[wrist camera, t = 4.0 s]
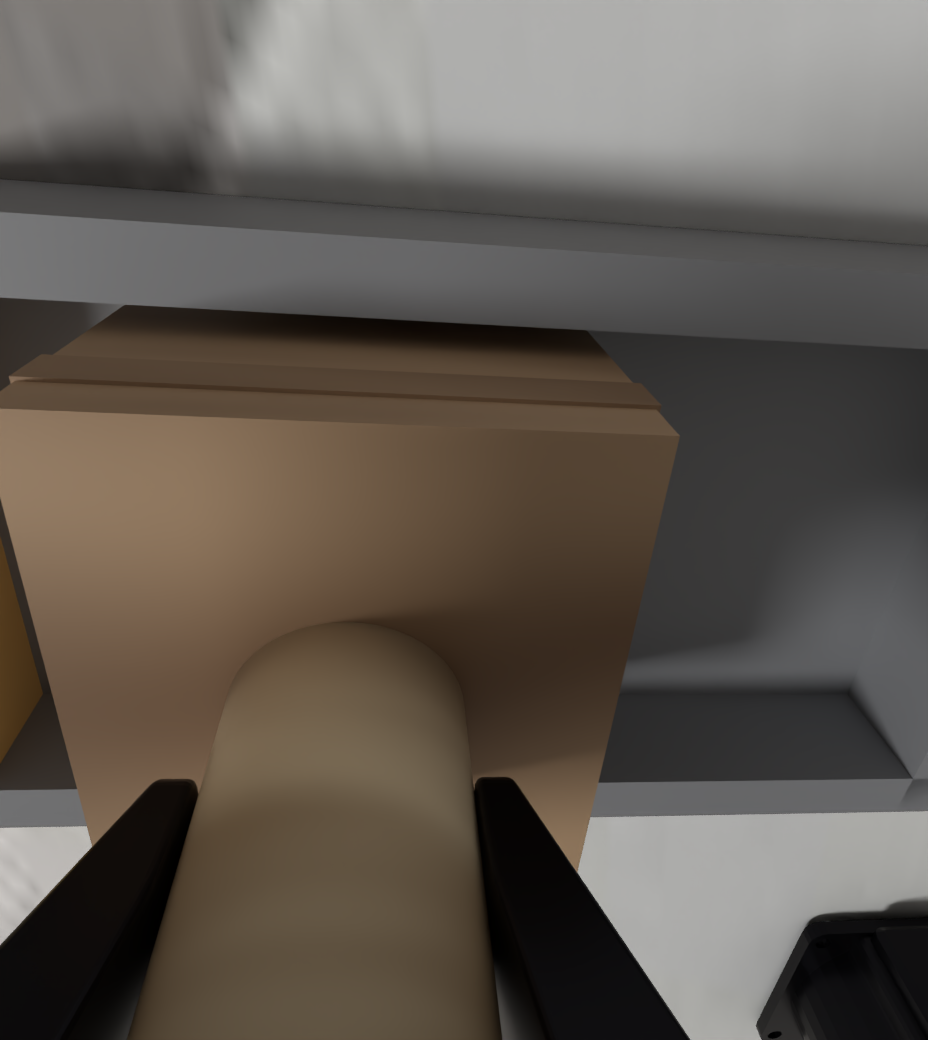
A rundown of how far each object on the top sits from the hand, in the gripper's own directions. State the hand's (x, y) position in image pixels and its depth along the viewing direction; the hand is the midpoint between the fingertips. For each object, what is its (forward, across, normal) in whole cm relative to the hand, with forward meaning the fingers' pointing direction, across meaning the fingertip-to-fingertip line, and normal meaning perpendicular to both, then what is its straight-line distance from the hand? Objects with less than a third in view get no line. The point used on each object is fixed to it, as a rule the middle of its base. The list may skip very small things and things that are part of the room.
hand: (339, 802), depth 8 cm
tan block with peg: (+6, 0, 0) cm, 6 cm away
